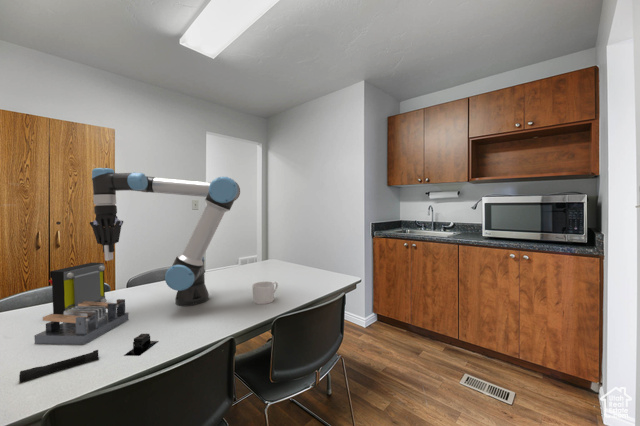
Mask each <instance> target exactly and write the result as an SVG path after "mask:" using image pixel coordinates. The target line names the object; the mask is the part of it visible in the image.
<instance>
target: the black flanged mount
mask: <svg viewBox="0 0 640 426" xmlns="http://www.w3.org/2000/svg"><path fill="white" fill-rule="evenodd" d="M159 342H160V341H159V340H151V335H150V333H140V334H138V336H136V337H134V338H133V342H132V349H130V350H129V351H128V352H126V353H125V354H124V355H123V356H124V357H126V356H128V357H129V356H130V357H133V356H134V357H139V356H140V357H141V355H143V354H144V353H146V352H147V351H148V350H150V349H151V348H153V346H155V345H156V344H157V343H159Z"/></svg>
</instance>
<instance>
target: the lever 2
mask: <svg viewBox="0 0 640 426" xmlns="http://www.w3.org/2000/svg"><path fill="white" fill-rule="evenodd" d="M108 303H109V302H91V301H84V302H81V303H79V304H78V306H106V310H108V306H107V304H108ZM115 303H116V305H117V302H115Z"/></svg>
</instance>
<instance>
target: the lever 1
mask: <svg viewBox="0 0 640 426" xmlns="http://www.w3.org/2000/svg"><path fill="white" fill-rule="evenodd" d="M76 317H86V316H74V315H61V314H53V313H50V314H47V315H45V316H43V317H42V321H45V322H51V321H54V322H60V323H63V322H67V323H76ZM87 318H88V317H86V319H87Z"/></svg>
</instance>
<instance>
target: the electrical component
mask: <svg viewBox="0 0 640 426" xmlns="http://www.w3.org/2000/svg"><path fill="white" fill-rule="evenodd" d="M105 269H106V266H105V264H104V262H87V263H84V264H82V263H81V264H78V265H73V266H69V267H64V268H60V269H59V268H58V269H55V270H50V271H49V277H50V279H49V280H48V282H49V283H50V284H51V288H52V290H51V291H52V311H53V313H52V314H61V315H64V311H68V309H71V308H75V307H76V306H78V304H79V303H81V302H84V301H91V302H105V303H107V299H106V296H105V295H106V294H105V272H104V271H105Z"/></svg>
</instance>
